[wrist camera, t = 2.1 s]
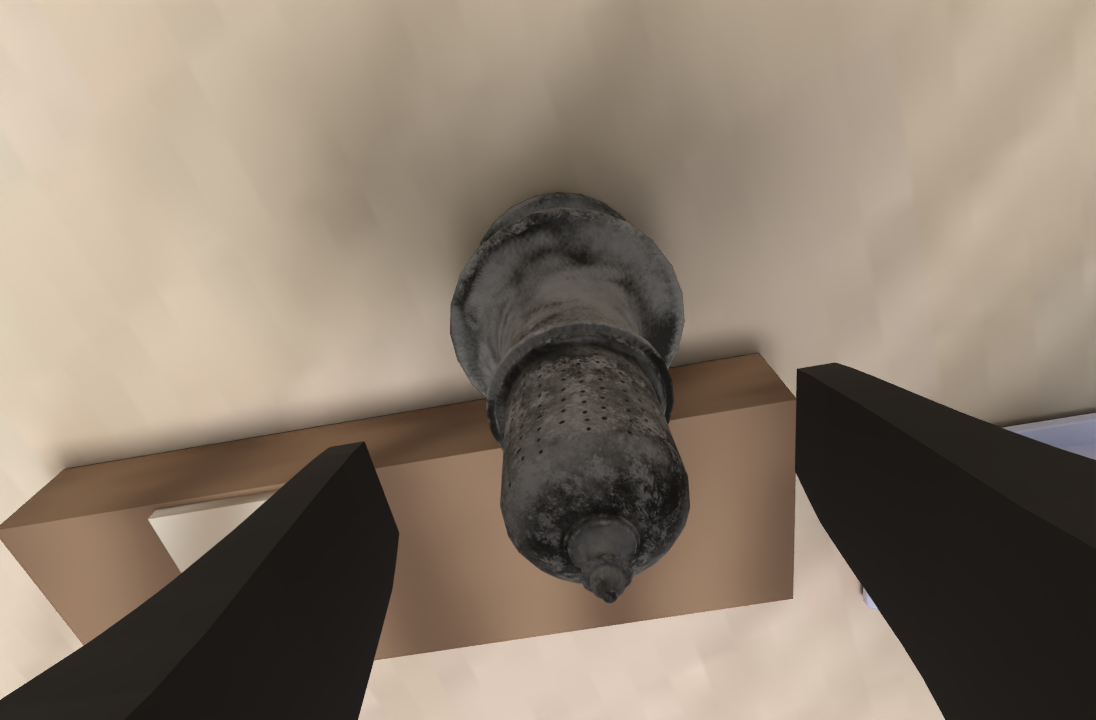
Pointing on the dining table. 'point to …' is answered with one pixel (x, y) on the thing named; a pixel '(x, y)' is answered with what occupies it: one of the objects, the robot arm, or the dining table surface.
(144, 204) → the dining table surface
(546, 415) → the salt shaker
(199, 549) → the walnut fence board
